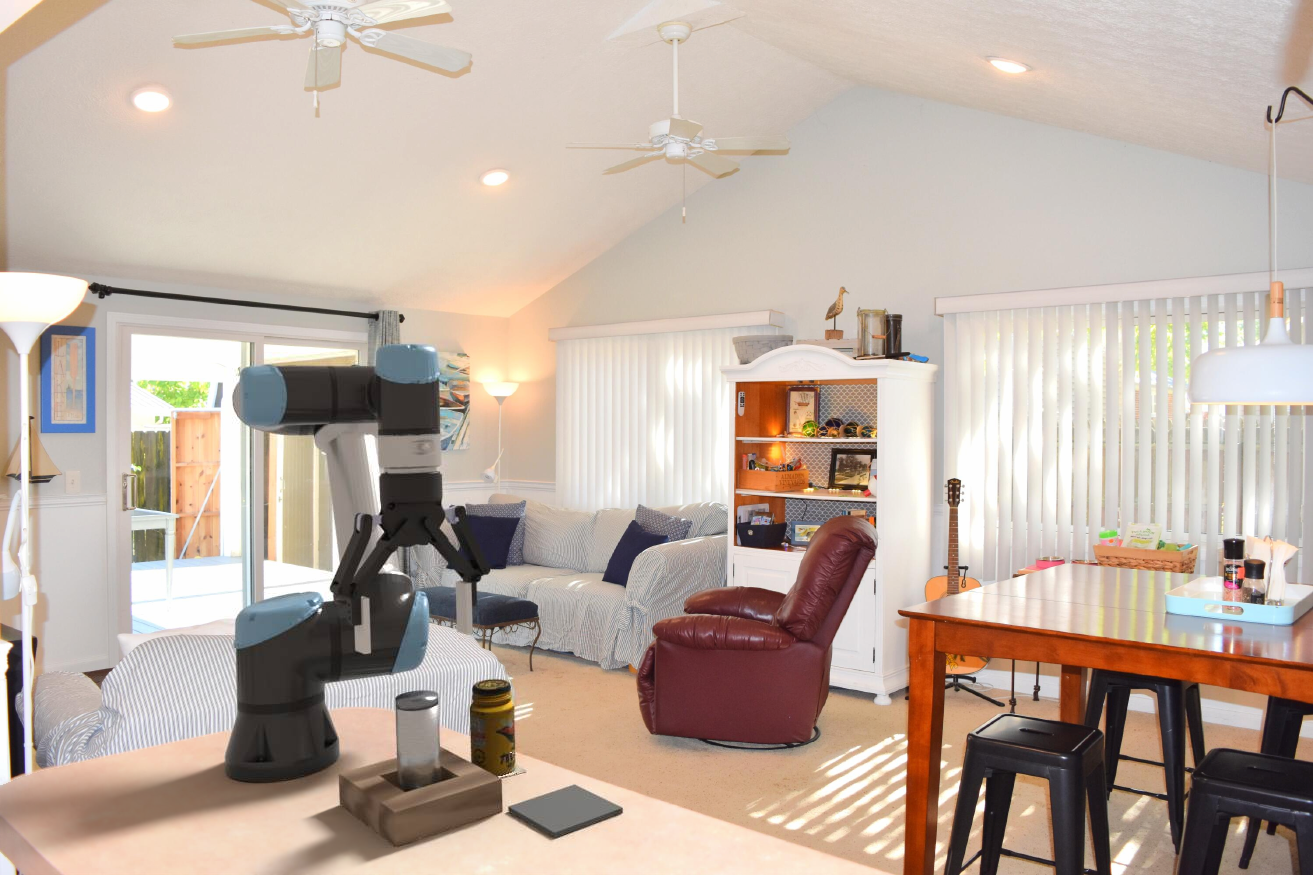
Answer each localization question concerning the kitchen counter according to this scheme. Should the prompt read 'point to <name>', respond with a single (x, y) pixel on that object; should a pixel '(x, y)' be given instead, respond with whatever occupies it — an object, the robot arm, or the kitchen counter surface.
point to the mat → (565, 810)
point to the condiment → (493, 728)
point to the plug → (417, 739)
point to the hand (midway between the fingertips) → (415, 642)
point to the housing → (419, 798)
